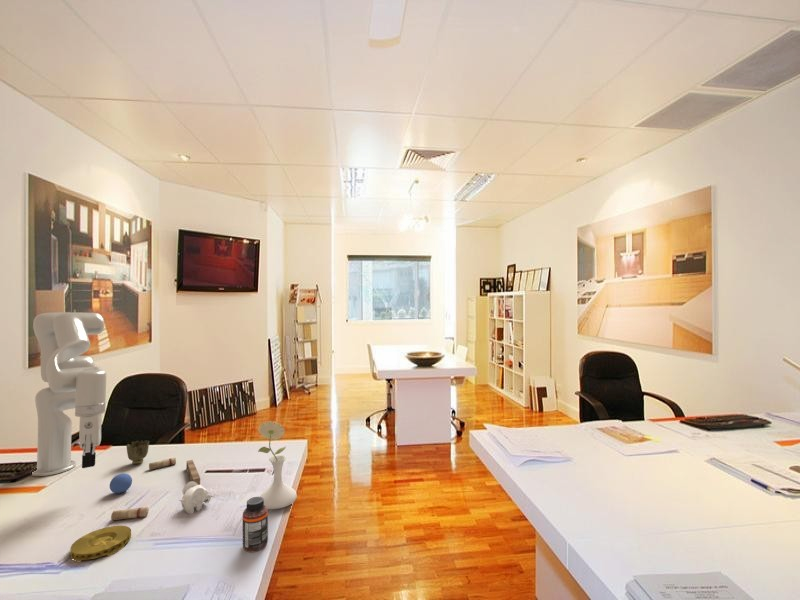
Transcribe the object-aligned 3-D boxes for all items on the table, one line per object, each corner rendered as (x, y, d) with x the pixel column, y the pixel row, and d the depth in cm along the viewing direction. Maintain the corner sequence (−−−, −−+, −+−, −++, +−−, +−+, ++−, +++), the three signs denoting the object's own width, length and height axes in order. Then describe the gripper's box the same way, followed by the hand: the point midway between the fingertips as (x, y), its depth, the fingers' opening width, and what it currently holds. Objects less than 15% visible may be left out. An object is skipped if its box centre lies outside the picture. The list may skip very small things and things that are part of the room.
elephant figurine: (217, 506, 114) (218, 482, 114) (182, 519, 107) (183, 493, 107) (208, 498, 119) (208, 475, 120) (174, 509, 112) (174, 485, 113)
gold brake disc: (61, 569, 87) (61, 559, 87) (81, 540, 98) (81, 532, 98) (124, 555, 92) (124, 546, 92) (136, 529, 103) (136, 521, 103)
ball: (136, 472, 128) (130, 491, 127) (116, 471, 126) (110, 490, 125) (132, 475, 123) (126, 495, 121) (110, 474, 121) (104, 495, 119)
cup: (137, 467, 144) (137, 446, 144) (121, 466, 145) (121, 445, 146) (153, 460, 151) (153, 440, 151) (138, 459, 153) (138, 439, 153)
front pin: (111, 522, 106) (145, 518, 108) (110, 516, 105) (144, 512, 107) (116, 515, 109) (149, 511, 110) (114, 508, 108) (147, 504, 110)
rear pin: (149, 471, 142) (175, 465, 147) (150, 467, 140) (176, 461, 146) (148, 465, 143) (174, 459, 149) (149, 461, 142) (175, 456, 147)
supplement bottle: (246, 539, 97) (247, 494, 97) (270, 537, 97) (270, 493, 98) (238, 554, 91) (239, 506, 91) (264, 552, 91) (264, 505, 92)
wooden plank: (186, 468, 142) (186, 460, 142) (192, 467, 143) (192, 459, 144) (193, 488, 126) (193, 479, 126) (200, 486, 127) (200, 477, 127)
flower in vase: (304, 497, 119) (304, 418, 120) (281, 516, 108) (281, 428, 109) (270, 492, 123) (270, 414, 124) (245, 509, 112) (245, 424, 113)
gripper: (103, 413, 117) (101, 472, 117) (106, 402, 129) (104, 456, 129) (72, 416, 112) (69, 478, 112) (78, 405, 125) (76, 460, 124)
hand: (88, 466), depth 120 cm, fingers closed
